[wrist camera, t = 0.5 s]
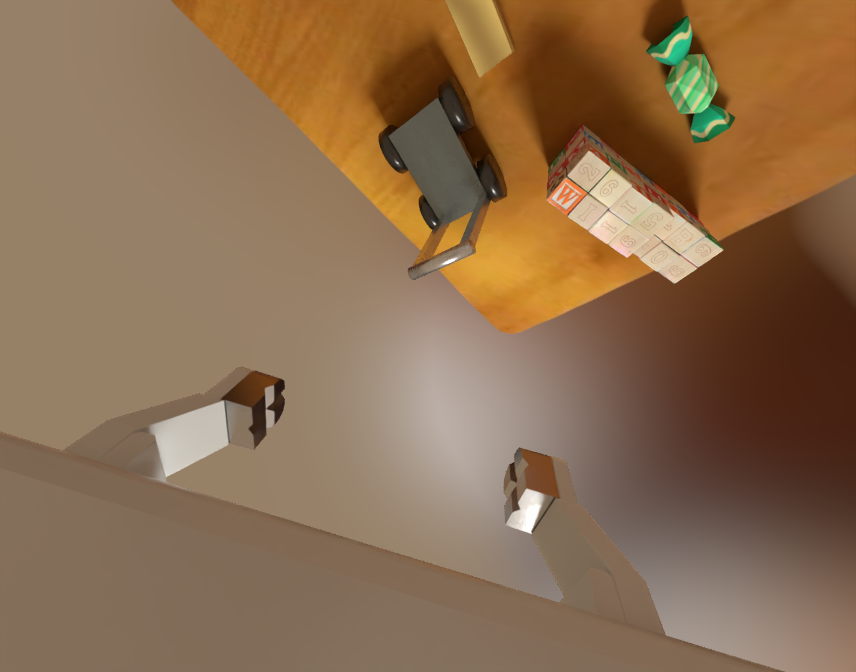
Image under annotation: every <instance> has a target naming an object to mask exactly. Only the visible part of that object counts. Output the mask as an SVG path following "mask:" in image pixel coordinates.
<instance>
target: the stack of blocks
mask: <svg viewBox="0 0 856 672" xmlns="http://www.w3.org/2000/svg"><path fill="white" fill-rule="evenodd" d="M547 201H548V202H549V203H551V204H552V205H554V206H555V207H556V208H558V209H559V210H560V211H562V212H563V213H565V214H566V215H568V217H569V218H570V219H572V220H573V221H575V222H576V223H578V224H579V225H581V226H582V227H584V228H585V229H587V230H588V231H589V232H590V233H591V234H592V235H594V236H596V237H597V238H598V239H600V240H601V241H603V242H604V243H606V244H608V245H609V246H611V247H612V248H613V249H615V250H616V251H618V252H619V253H621V254H622V255H624V256H625V257H628V256H630V255H631V254H632V253H633V254H635V255H636V256H637V257H639V259H640V260H641V261H643V262H644V263H645V264H647V265H648V266H649V267H651V268H652V269H654V270H655V271H658V272H660V273H661V274H662V275H664V276H665V277H666V278H667V279H669V280H670V281H672V282H673V283H676V282H678V281H679V280H681V279H682V278H684V277H685V276H687V275H688V274H690V273H691V272H693V271H694V270H696V269H697V267H699V266H701V265H702V264H704V263H705V262H707V261H708V260H710V259H711V258H712V257H714V256H715V255H717V254H719V253H720V252H721V251H723V248H722V247H721V246H720V244H719V243H718V241H717V240H716V239H715V238H714V237H713V236H712V235H711V234H710V233H709V231H708V230H707V229H706V228H705V227H704V225H703V224H702V223H701V221H700V220H699V219H698V218H697V217H695V216H694V215H693V214H691V213H690V212H689V211H688V210H686V209H685V208H684V206H683V205H681V204H680V203H679V202H678V201H676V200H675V199H674V198H673V197H671V196H670V195H669V194H668V193H667V192H665V191H664V190H663V189H662V188H660V187H659V186H658V185H657V184H655V183H654V182H653V181H651V180H649V179H648V178H647V177H646V176H644V175H643V174H642V173H641V172H640V171H638V170H637V169H636V168H634V167H633V166H632V165H631V164H629V163H628V162H627V161H626V160H625V159H623V158H622V157H621V156H620V155H618V154H617V152H616V151H614V150H613V149H612V148H611V147H609V146H608V145H607V144H606V143H605V142H603V141H602V140H601V139H600V138H599V137H598V136H597V135H595V134H594V133H593V132H592V131H591V130H589V129H588V128H587V127H586V126H584V125H582V126H581V127H580V128H579V130H578V131H577V132H576V133H575V135H574V136H573V137H572V138H571V140H570V141H569V142H568V143H567V145H566V146H565V148H564V149H563V150H562V151H561V153H560V154H559V155H558V156H557V158H556V159H555V160H554V161H553V163H552V164H551V165H550V166H549V170H548V183H547Z"/></svg>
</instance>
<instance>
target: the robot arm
mask: <svg viewBox="0 0 856 672" xmlns="http://www.w3.org/2000/svg"><path fill="white" fill-rule="evenodd" d="M284 389H285V381H284V380H283V379H280V378H277V377H274V376H271V375H268V374H264V373H261V372H258V371H254V370H251V369H247V368H245V367H238V368H236V369H235V370H233V371H232V372H231V373H230V374H228V376H226V377H225V378H223V379H222V380H221V381H220V382H219V383H217V384H216V385H215V386H214V387H212V388H211V389H210V390H209V391H207V392H206V393H205V394H204V395H203V394H200V393H199V394H195V395H192V396H188V397H185V398H182V399H178V400H175V401H171V402H168V403H164V404H161V405H158V406H154V407H150V408H147V409H144V410H140V411H137V412H133V413H130V414H126V415H123V416H120V417H116V418H113V419H110V420H107V421H105V422H104V423H102V424H101V425H99V426H98V427H96V428H95V429H94V430H92V431H91V432H89V433H88V434H86V435H85V436H83V437H82V438H80V439H79V440H77V441H76V442H74V443H73V444H71V445H70V446H68V447H67V448H65V449H64V450H59V449H56V448H52V447H49V446H46V445H42V444H39V443H36V442H33V441H30V440H26V439H23V438H19V437H16V436H13V435H10V434H7V433H3V432H0V672H784V671H781V670H777V669H774V668H770V667H767V666H764V665H761V664H757V663H754V662H751V661H748V660H744V659H741V658H738V657H735V656H731V655H728V654H725V653H721V652H718V651H715V650H712V649H708V648H705V647H702V646H699V645H695V644H692V643H688V642H685V641H682V640H679V639H676V638H672V637H669V636H666V635H665V632H664V630H663V627H662V624H661V621H660V619H659V616H658V613H657V611H656V608H655V605H654V603H653V600H652V597H651V594H650V592H649V589H648V586H647V583H646V582H645V580H644V579H643V578H642V577H641V576H640V574H639V573H638V572H637V571H636V570H635V568H634V567H633V566H632V565H631V564H630V562H629V561H628V560H627V559H626V558H625V556H624V555H623V554H622V553H621V552H620V550H619V549H618V548H617V547H616V546H615V544H614V543H613V542H612V541H611V540H610V538H609V537H608V536H607V535H606V534H605V532H604V531H603V530H602V529H601V528H600V527H599V525H598V524H597V523H596V522H595V521H594V519H593V518H592V517H591V515H590V514H589V513H588V512H587V511H586V509H585V508H584V507H583V506H581V505H578V503H577V499H576V495H575V491H574V488H573V484H572V480H571V476H570V473H569V469H568V465H567V462H566V461H565V460H563V459H560V458H556V457H552V456H548V455H544V454H541V453H537V452H534V451H530V450H527V449H523V448H518V449H517V451H516V453H515V454H514V461H515V462H513V463H512V464H509V466H508V469H507V471H506V475H505V478H504V494H505V495H506V497H507V499H508V500H507V501H506V503H505V505H504V507H505V525H507V526H510V527H513V528H516V529H519V530H522V531H525V532H528V533H531V534H532V537H533V539H534V541H535V543H536V545H537V546H538V548H539V550H540V552H541V554H542V556H543V558H544V560H545V562H546V563H547V565H548V567H549V569H550V571H551V573H552V575H553V576H554V578H555V580H556V581H557V584H558V586H559V588H560V590H561V591H562V593H563V595H564V598H563V599H562V600H561V601H560V602H559V603H558V602H555V601H551V600H548V599H545V598H542V597H538V596H535V595H532V594H529V593H525V592H522V591H519V590H516V589H512V588H509V587H506V586H503V585H500V584H496V583H493V582H490V581H486V580H483V579H480V578H477V577H473V576H470V575H467V574H464V573H460V572H457V571H453V570H451V569H447V568H443V567H440V566H437V565H434V564H431V563H428V562H424V561H421V560H418V559H414V558H411V557H408V556H404V555H401V554H398V553H395V552H391V551H388V550H385V549H381V548H378V547H375V546H372V545H368V544H365V543H362V542H359V541H356V540H352V539H349V538H346V537H343V536H339V535H336V534H333V533H330V532H326V531H323V530H319V529H316V528H313V527H310V526H307V525H303V524H300V523H297V522H294V521H291V520H287V519H284V518H280V517H277V516H274V515H271V514H268V513H264V512H261V511H258V510H254V509H251V508H248V507H245V506H242V505H238V504H235V503H231V502H228V501H225V500H221V499H219V498H215V497H212V496H209V495H206V494H202V493H199V492H196V491H192V490H189V489H186V488H183V487H179V486H176V485H173V484H170V483H167V479H166V477H167V476H169V475H171V474H173V473H175V472H177V471H179V470H181V469H183V468H184V467H186V466H188V465H190V464H192V463H194V462H196V461H198V460H200V459H202V458H204V457H206V456H208V455H209V454H211V453H213V452H215V451H217V450H219V449H221V448H223V447H225V446H227V445H228V444H229V443H231V444H234V445H238V446H242V447H245V448H249V449H253V450H254V449H255V448H256V447H257V446H258V445H259V443H260V442H261V441H262V440H263V439H264V437H265V436H266V429H267V428H269V427H271V426H274V425H275V424H276V423H277V421H278V420H279V419H280V416H281V414H282V412H283V410H284V405H285V399H284V397H283V395H282V394H281V393H282V392H283V390H284Z"/></svg>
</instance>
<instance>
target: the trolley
mask: <svg viewBox="0 0 856 672" xmlns="http://www.w3.org/2000/svg"><path fill="white" fill-rule="evenodd" d="M438 92H439V97H438V98H436V99H435V100H434V101H433V102H431V103H430V104H429V105H427V106H426V107H425V108H424V109H422V110H421V111H420V112H419V113H417V114H416V115H415V116H413V117H412V118H411V119H410V120H408V121H407V122H406V123H405V124H403V125H402V126H401V127H399V128H397V127H396V126H394V125H389V126H388V127H387V128H385V129H384V130H383V131H382V132H380V134H379V145H380V148H381V150H382V153H383V155H384V157H385V158H386V160H387V161H388V163H389V164H390V165H391V166H392V167H393V168H394V169H395V170H396V171H397V172H399V173H405V172H407V171H408V170H409V171H410V173H411V175H412V176H413V178H414V180H415V181H416V183H417V185H418V186H419V188H420V190H421V191H422V193H423V195H421V196H420V198H419V208H420V211H421V214H422V216H423V218H424V220H425V222H426V223H427V225H428V226H429V227H430V228H431V229H432V230H433V231H432V232H431V234H430V236H429V238H428V239H427V241H426V243H425V245H424V247H423V248H422V250H421V252H420V254H419V256H418V257H417V259H416V261H415V262H414V264H413V266H412V267H410V268H408V274H409V276H410V278H411V279H412V280H416V279H418V278H420V277H422V276H425V275H427V274H429V273H431V272H434V271H436V270H438V269H441V268H443V267H445V266H447V265H450V264H452V263H454V262H456V261H459V260H461V259H463V258H466V257H468V256H470V255H472V254H475V253H476V248H475V245H476V242H477V239H478V236H479V233H480V230H481V227H482V224H483V221H484V218H485V216H486V213H487V210H488V207H489V204H490V201H491V200H492V201H493V202H497V201H499V200H501V199H503V198H505V197H506V196H507V187H506V183H505V180H504V177H503V174H502V172H501V170H500V168H499V166H498V164H497V162H496V160H495V159H494V158H493V156H491V155H490V154H489V155H487V156H485V157H484V158H482V159H480V160H479V161H478V162H477V168H476V166H475V164H474V162H473V160H472V158H471V156H470V154H469V152H468V150H467V148H466V146H465V144H464V142H463V140H462V138H461V136H460V134H459V133H464V132H465V131H467V130H468V129H470V128H471V127H473V126H474V124H475V121H474V116H473V112H472V109H471V106H470V104H469V101H468V99H467V97H466V95H465V93H464V91H463V89H462V87H461V86H460V84H459V83H458V81H457V80H456V79H455V78H454V77H453V76H450V77H449V78H447V79H446V80H445V81H444V82H442V83H441V84H440V85H439V86H438ZM472 211H473V213H472V215H471V218H470V220H469V223H468V225H467V227H466V230H465V232H464V235H463V237H462V239H461V242H460V244H458V245H456V246H454V247H452V248H450V249H448V250H446V251H444V252H442V253H439V254H437V255H435V256H433V255H434V253H435V251H436V249H437V247H438V245H439V243H440V241H441V239H442V237H443V235H444V233H445V231H446V229H447V227H448V226H449V223H451V222H452V221H454V220H456V219H458V218H460V217H462V216H464V215H466V214H468V213H470V212H472Z"/></svg>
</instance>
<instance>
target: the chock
mask: <svg viewBox="0 0 856 672" xmlns="http://www.w3.org/2000/svg"><path fill="white" fill-rule="evenodd" d="M445 1H446V3H447V5H448V8H449V10H450V12H451V14H452V17H453V19H454V21H455V23H456V26H457V28H458V30H459V32H460V35H461V37H462V39H463V42H464V44H465V46H466V48H467V51H468V53H469V55H470V57H471V60H472V62H473V64H474V66H475V69H476V71H477V73H478V75H479V78H480V77H481V76H482V75H484V74H485V73H486V72H487V71H489V70H490V69H491V68H493V67H494V66H495V65H497V64H498V63H499V62H500V61H502V60H503V59H504V58H506V57H507V56H508V55H510V54H511V53H512V52H513V51H515V50H516V49H515V46H514V44H513V41H512V38H511V36H510V33H509V30H508V28H507V25H506V23H505V20H504V17H503V15H502V12H501V9H500V7H499V4H498V2H497V0H445Z"/></svg>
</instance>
